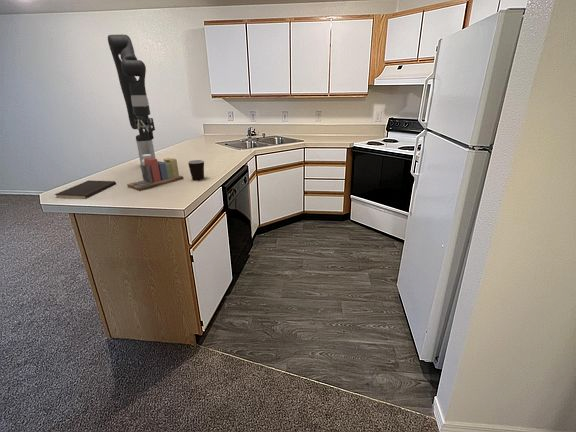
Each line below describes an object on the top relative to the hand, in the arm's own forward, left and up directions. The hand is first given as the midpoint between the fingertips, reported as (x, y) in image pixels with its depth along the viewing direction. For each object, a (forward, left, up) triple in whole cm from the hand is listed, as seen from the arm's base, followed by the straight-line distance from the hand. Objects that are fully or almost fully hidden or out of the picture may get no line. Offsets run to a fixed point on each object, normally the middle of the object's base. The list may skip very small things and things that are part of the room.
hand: (146, 138), depth 159 cm
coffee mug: (+12, +20, -24) cm, 34 cm away
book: (0, 0, -23) cm, 23 cm away
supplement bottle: (-14, +6, -24) cm, 28 cm away
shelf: (0, +1, -24) cm, 24 cm away
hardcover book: (-17, -28, -25) cm, 41 cm away
